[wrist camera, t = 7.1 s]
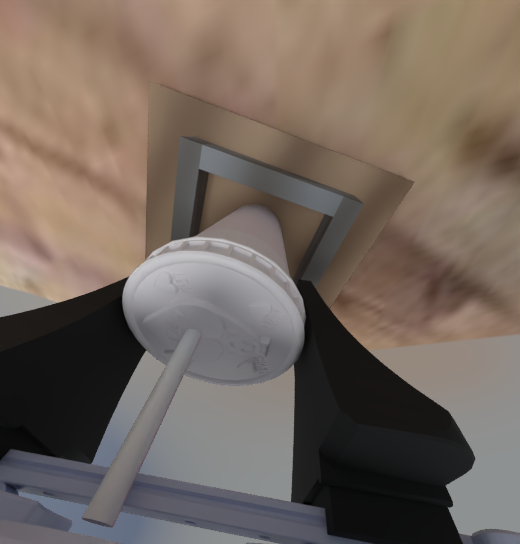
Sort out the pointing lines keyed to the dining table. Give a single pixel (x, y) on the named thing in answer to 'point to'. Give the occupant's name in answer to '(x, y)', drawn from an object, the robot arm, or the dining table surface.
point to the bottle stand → (263, 187)
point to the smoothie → (206, 326)
